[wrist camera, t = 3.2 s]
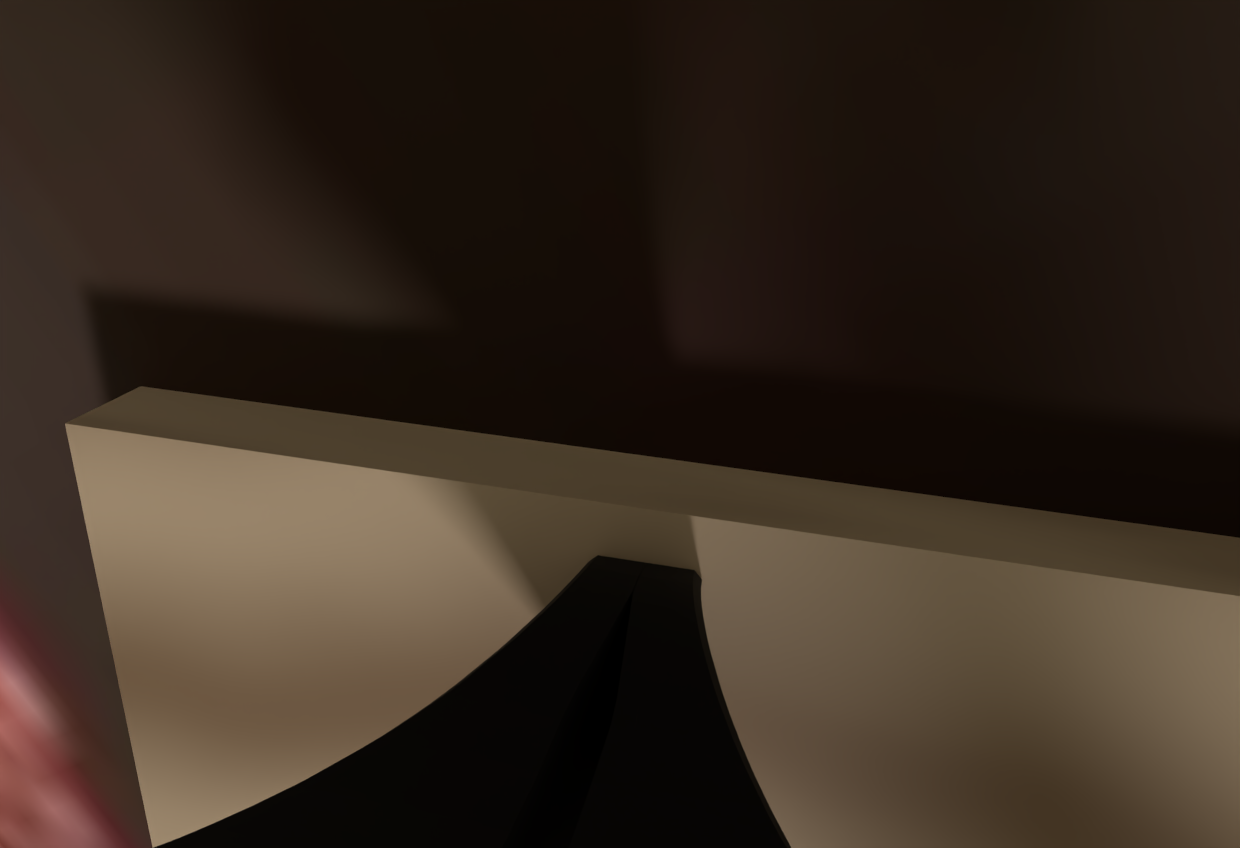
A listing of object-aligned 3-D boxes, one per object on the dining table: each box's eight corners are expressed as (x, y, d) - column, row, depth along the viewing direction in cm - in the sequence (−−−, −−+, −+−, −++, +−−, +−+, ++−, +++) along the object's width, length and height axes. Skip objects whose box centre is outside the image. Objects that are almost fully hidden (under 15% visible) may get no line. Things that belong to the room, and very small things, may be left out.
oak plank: (1576, 1081, 13) (1670, 1203, 11) (209, 791, 16) (154, 859, 15) (1937, 631, 10) (2128, 726, 8) (142, 384, 13) (65, 423, 11)
